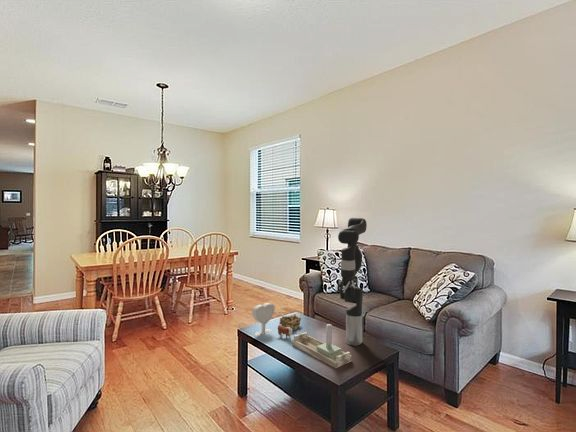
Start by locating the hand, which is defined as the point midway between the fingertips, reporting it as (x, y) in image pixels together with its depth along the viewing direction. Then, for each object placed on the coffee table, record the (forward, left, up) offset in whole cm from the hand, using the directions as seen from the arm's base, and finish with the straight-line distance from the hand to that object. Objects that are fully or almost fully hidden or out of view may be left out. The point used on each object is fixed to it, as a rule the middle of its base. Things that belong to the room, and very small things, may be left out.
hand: (347, 296), depth 171 cm
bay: (+9, -11, -33) cm, 36 cm away
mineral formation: (-5, -52, -33) cm, 62 cm away
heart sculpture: (+16, -56, -33) cm, 67 cm away
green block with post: (+9, -5, -32) cm, 33 cm away
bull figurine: (+11, -39, -33) cm, 52 cm away
